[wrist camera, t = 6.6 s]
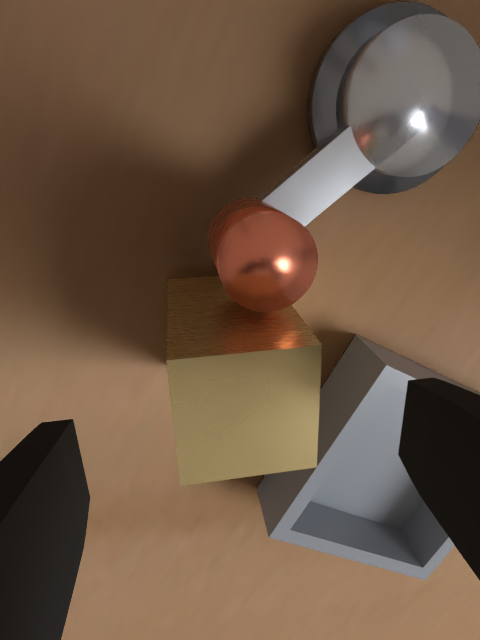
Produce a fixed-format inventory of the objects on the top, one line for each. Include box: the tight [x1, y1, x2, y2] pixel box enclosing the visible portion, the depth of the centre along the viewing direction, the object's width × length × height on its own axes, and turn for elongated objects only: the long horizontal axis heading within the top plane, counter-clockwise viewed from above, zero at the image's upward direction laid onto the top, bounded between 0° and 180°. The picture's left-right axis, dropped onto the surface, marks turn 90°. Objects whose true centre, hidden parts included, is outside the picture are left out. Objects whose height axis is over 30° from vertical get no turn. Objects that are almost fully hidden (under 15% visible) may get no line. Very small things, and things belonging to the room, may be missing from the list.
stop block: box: [166, 275, 322, 486], centre depth 13 cm, size 3×3×6 cm
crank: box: [208, 14, 480, 312], centre depth 11 cm, size 9×4×4 cm, turn 129°
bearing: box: [308, 1, 447, 194], centre depth 13 cm, size 5×5×1 cm
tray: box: [257, 335, 480, 580], centre depth 17 cm, size 8×8×2 cm
